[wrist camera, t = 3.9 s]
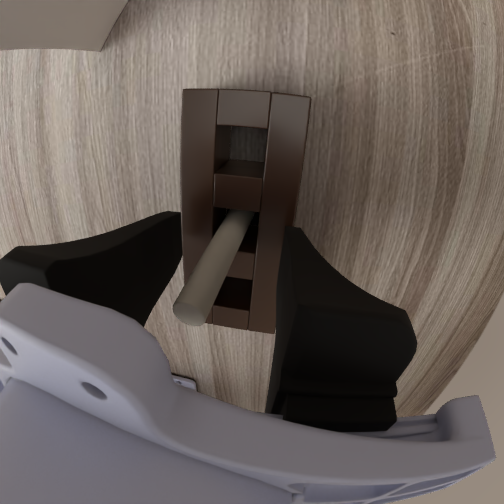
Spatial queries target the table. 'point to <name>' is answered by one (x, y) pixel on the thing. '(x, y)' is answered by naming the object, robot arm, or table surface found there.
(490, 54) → the table surface
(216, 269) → the beige thin cylinder
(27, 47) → the block
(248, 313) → the pen stand
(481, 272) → the table surface
